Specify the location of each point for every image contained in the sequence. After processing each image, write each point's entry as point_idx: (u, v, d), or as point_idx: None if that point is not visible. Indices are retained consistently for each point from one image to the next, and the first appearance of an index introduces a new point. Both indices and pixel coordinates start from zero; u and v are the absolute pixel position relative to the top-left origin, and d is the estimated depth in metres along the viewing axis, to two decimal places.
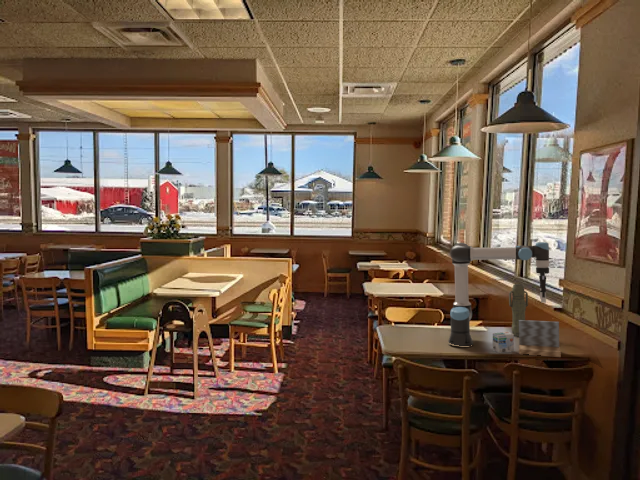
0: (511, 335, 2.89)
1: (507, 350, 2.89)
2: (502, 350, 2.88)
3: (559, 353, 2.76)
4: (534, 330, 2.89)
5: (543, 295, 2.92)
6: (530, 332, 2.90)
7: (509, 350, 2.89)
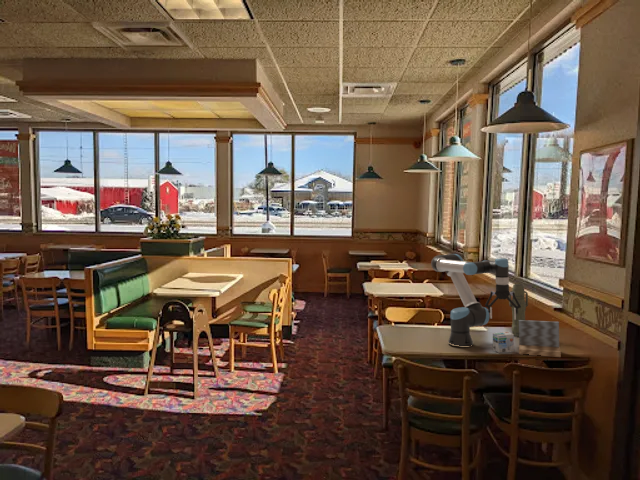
0: (511, 335, 2.89)
1: (507, 350, 2.89)
2: (502, 350, 2.88)
3: (559, 353, 2.76)
4: (534, 330, 2.89)
5: (488, 310, 2.94)
6: (530, 332, 2.90)
7: (509, 350, 2.89)
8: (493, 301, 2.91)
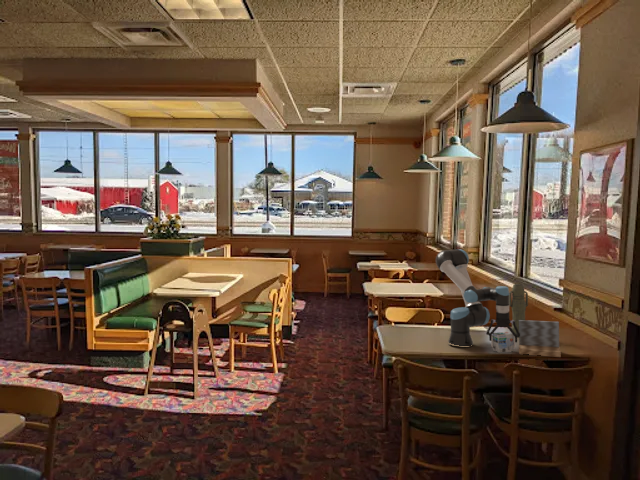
0: (511, 335, 2.89)
1: (507, 350, 2.89)
2: (502, 350, 2.88)
3: (559, 353, 2.76)
4: (534, 330, 2.89)
5: None
6: (530, 332, 2.90)
7: (509, 350, 2.89)
8: (494, 329, 2.92)
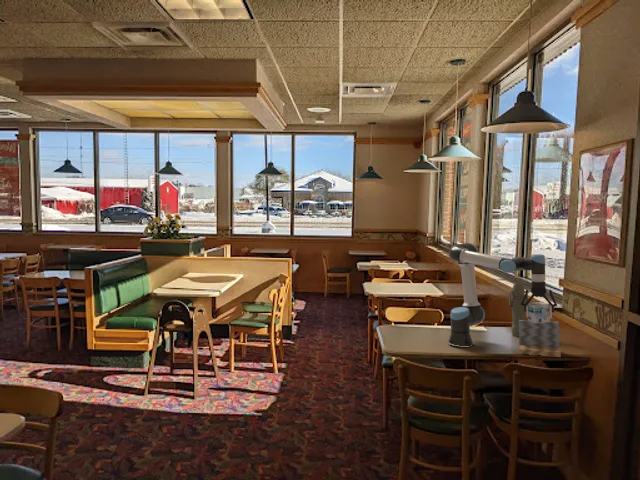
0: (547, 305, 2.77)
1: (543, 320, 2.77)
2: (538, 320, 2.77)
3: (559, 353, 2.76)
4: (534, 330, 2.89)
5: (524, 309, 2.83)
6: (530, 332, 2.90)
7: (545, 320, 2.77)
8: (529, 299, 2.81)
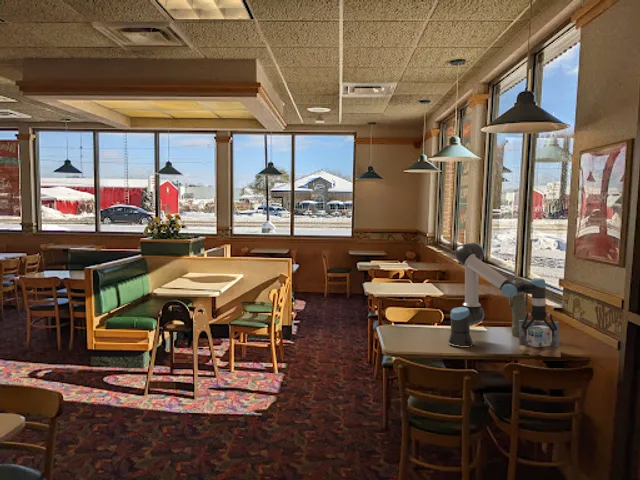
0: (548, 329, 2.80)
1: (543, 344, 2.80)
2: (538, 344, 2.79)
3: (559, 353, 2.76)
4: None
5: None
6: None
7: (545, 344, 2.80)
8: (529, 323, 2.83)
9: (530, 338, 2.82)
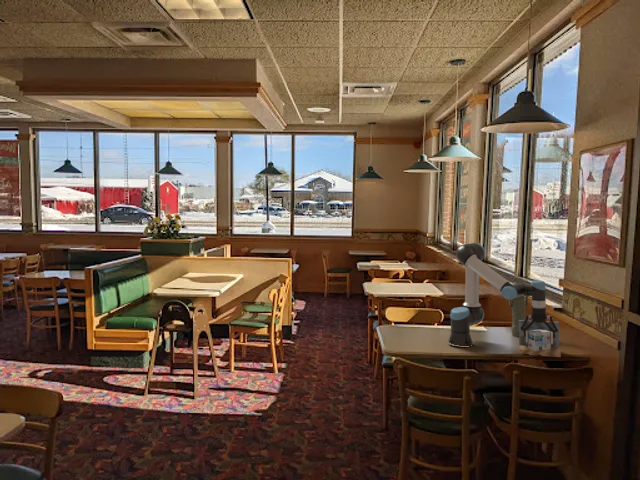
0: (548, 332, 2.80)
1: (544, 348, 2.80)
2: (539, 348, 2.79)
3: (559, 353, 2.76)
4: None
5: None
6: None
7: (546, 348, 2.80)
8: (529, 324, 2.83)
9: (530, 342, 2.83)
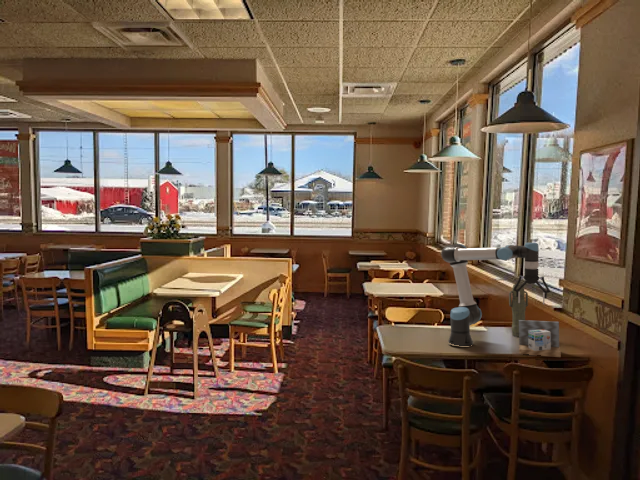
0: (548, 332, 2.80)
1: (544, 348, 2.80)
2: (539, 348, 2.79)
3: (559, 353, 2.76)
4: None
5: (516, 294, 2.92)
6: None
7: (546, 348, 2.80)
8: (522, 285, 2.89)
9: (530, 342, 2.83)
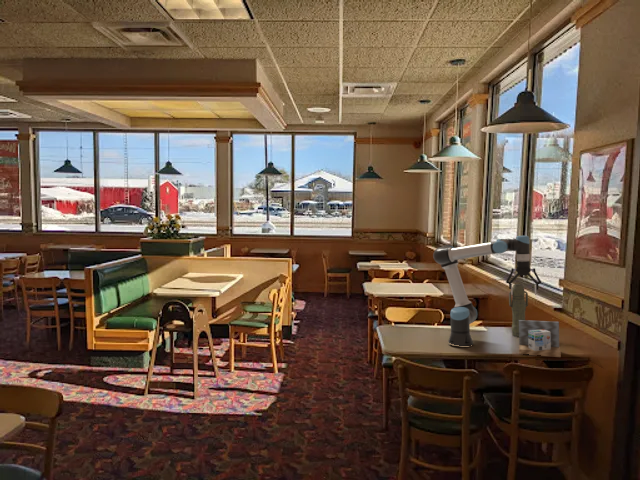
0: (548, 332, 2.80)
1: (544, 348, 2.80)
2: (539, 348, 2.79)
3: (559, 353, 2.76)
4: None
5: (509, 286, 3.01)
6: None
7: (546, 348, 2.80)
8: (514, 277, 2.98)
9: (530, 342, 2.83)
